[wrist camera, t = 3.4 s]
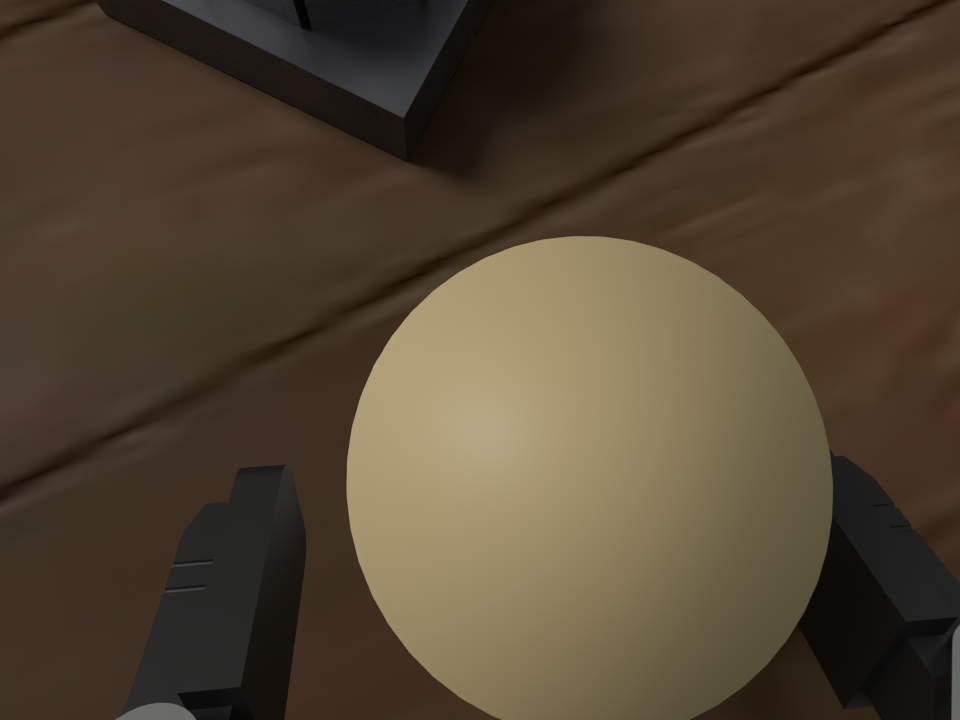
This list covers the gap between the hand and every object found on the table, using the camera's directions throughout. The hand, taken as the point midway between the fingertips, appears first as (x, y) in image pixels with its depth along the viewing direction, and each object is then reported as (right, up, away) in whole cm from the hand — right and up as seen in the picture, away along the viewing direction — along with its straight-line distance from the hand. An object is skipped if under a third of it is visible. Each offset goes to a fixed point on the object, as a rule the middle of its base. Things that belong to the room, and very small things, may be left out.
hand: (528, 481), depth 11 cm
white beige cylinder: (-1, -1, +7) cm, 7 cm away
